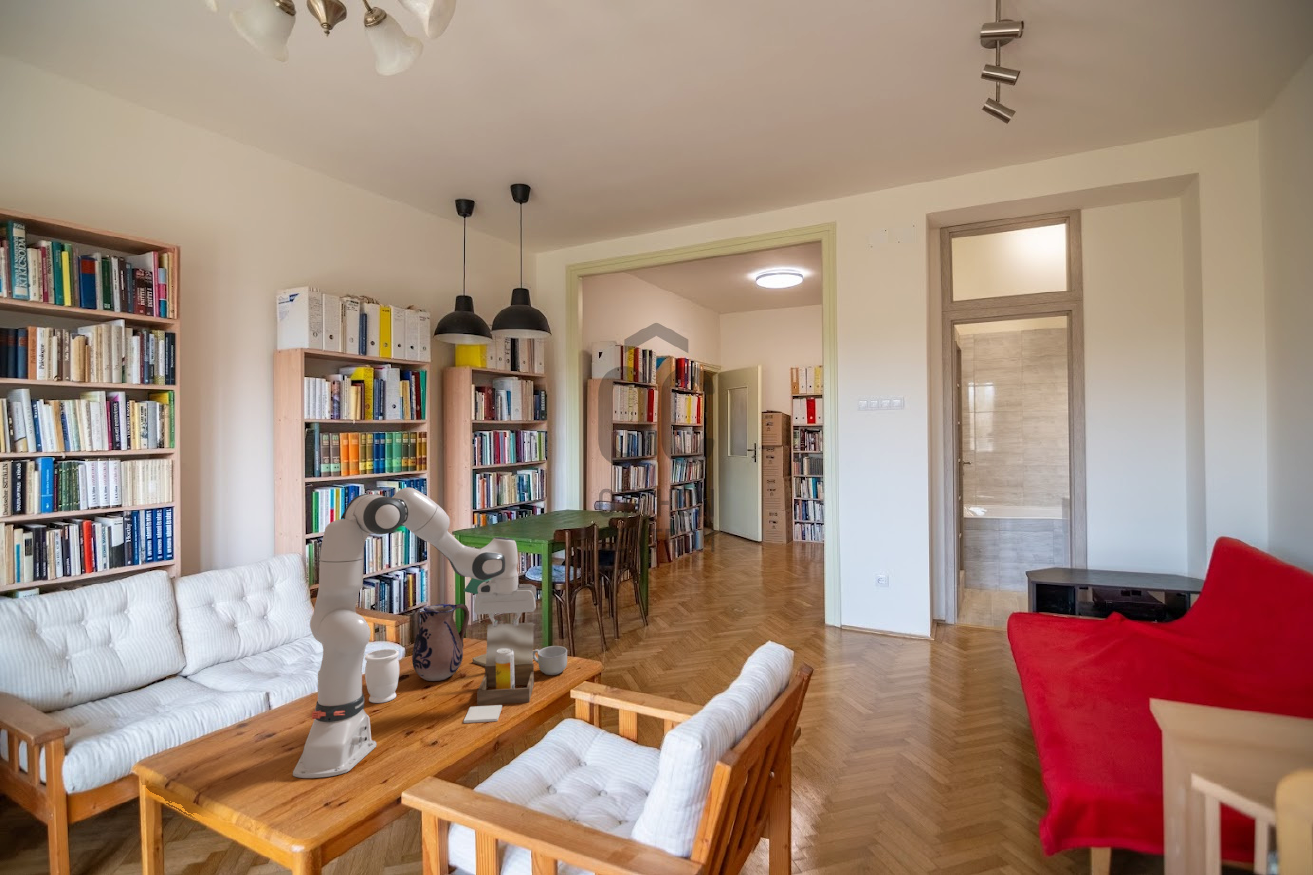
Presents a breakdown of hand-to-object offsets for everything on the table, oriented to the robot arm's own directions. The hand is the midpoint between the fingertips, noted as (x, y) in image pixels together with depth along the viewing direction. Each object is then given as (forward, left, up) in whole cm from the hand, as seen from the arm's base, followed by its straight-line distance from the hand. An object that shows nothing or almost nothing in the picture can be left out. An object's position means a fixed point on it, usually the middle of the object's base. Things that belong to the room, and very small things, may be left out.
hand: (505, 625), depth 212 cm
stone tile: (-16, +5, -23) cm, 28 cm away
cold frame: (+2, 0, -23) cm, 23 cm away
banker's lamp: (+30, +8, -23) cm, 39 cm away
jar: (+2, +41, -23) cm, 47 cm away
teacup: (+19, -13, -23) cm, 33 cm away
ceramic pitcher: (+21, +26, -23) cm, 41 cm away
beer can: (-1, 0, -23) cm, 23 cm away
